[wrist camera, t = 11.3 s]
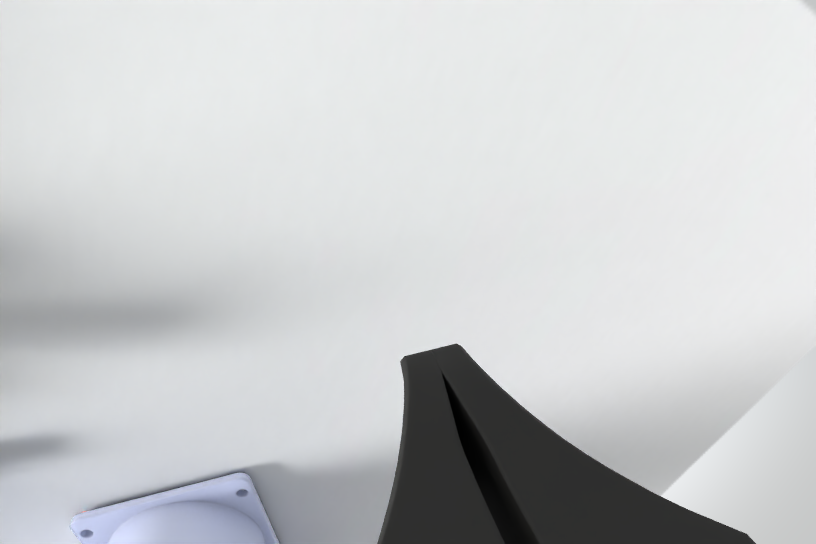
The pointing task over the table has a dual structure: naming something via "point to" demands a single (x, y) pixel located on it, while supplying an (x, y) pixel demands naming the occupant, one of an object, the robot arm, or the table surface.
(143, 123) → the table surface
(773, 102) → the table surface
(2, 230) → the table surface
